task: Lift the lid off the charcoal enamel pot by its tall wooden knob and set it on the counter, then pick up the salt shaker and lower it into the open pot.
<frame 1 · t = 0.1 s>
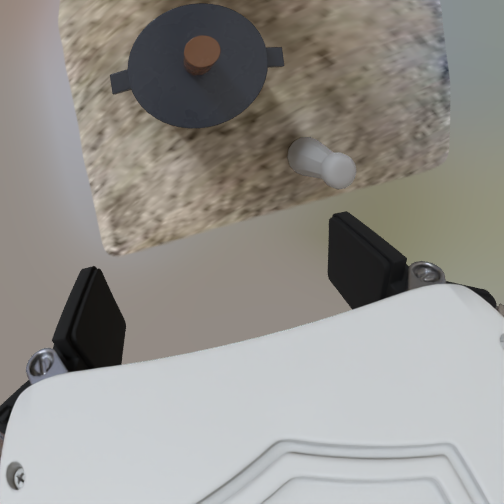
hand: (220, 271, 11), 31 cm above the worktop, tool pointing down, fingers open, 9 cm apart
lid: (198, 63, 24), point 9 cm above the worktop, touching pot
pot: (194, 73, 32), on the worktop
salt shaker: (300, 153, 41), on the worktop
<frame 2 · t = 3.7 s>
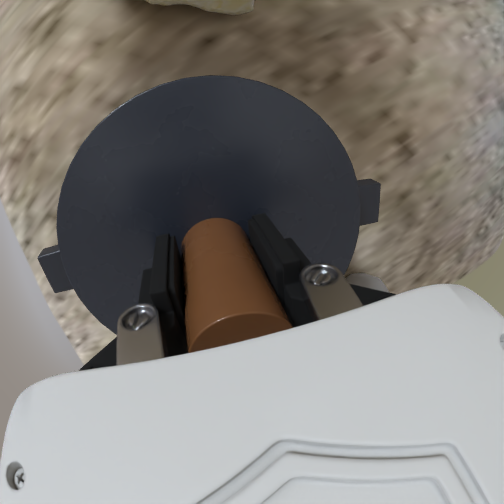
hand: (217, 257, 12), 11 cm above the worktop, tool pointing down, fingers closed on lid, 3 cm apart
lid: (213, 243, 13), point 10 cm above the worktop, touching gripper, pot
pot: (199, 186, 21), on the worktop
salt shaker: (351, 286, 30), on the worktop
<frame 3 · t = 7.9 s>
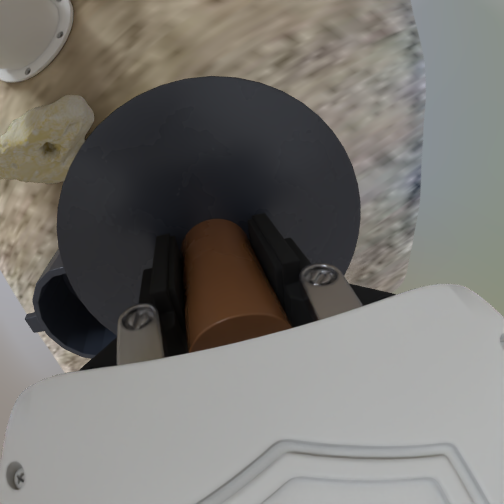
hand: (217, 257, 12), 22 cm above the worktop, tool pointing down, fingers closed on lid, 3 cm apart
lid: (213, 243, 13), point 21 cm above the worktop, touching gripper
pot: (101, 272, 34), on the worktop
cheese: (45, 149, 25), on the worktop
when the fingers open (2 cm above the worktop, at t = 12.4 s): lid stays where it is, point 1 cm above the worktop.
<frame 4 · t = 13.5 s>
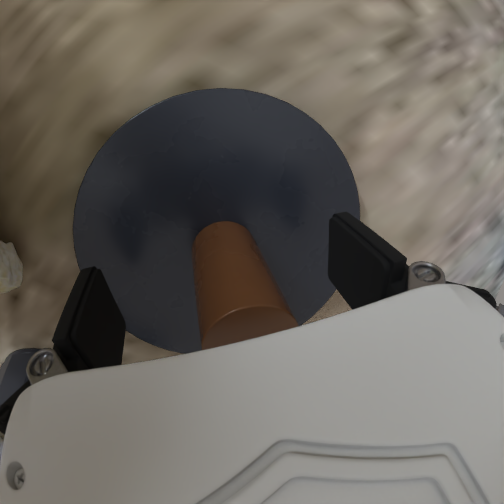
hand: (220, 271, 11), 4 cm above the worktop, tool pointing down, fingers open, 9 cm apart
lid: (221, 244, 14), point 1 cm above the worktop
pot: (69, 400, 18), on the worktop
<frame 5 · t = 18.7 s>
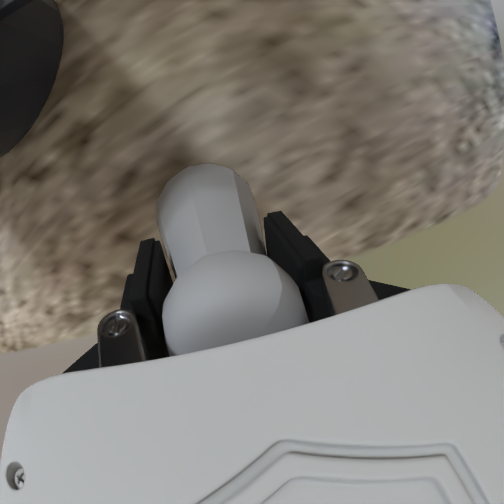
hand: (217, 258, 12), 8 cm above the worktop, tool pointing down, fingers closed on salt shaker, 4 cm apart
salt shaker: (202, 198, 18), on the worktop, touching gripper
when the fingers open (8 cm above the worktop, at t = 26.5 s): salt shaker stays where it is, resting on pot.
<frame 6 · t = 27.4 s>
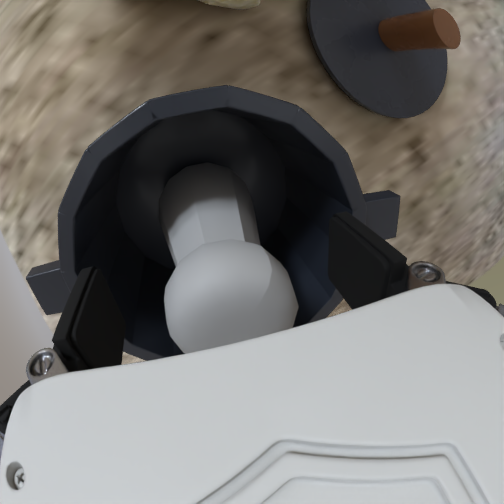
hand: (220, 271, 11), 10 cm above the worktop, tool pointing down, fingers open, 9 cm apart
lid: (387, 35, 15), point 1 cm above the worktop
pot: (201, 195, 20), on the worktop
salt shaker: (202, 196, 19), resting on pot
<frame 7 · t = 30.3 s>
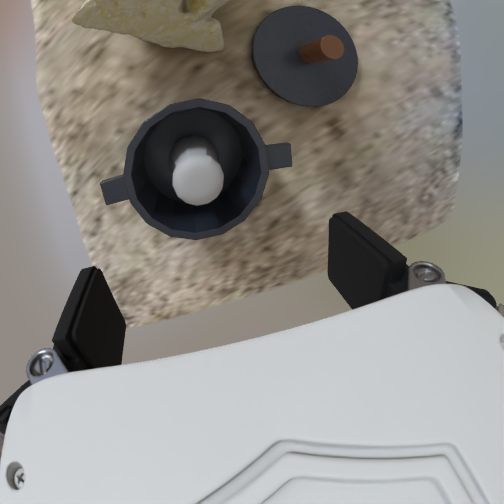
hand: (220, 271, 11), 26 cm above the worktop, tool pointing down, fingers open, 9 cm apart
lid: (307, 54, 29), point 1 cm above the worktop
pot: (192, 156, 33), on the worktop
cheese: (156, 26, 24), on the worktop
salt shaker: (192, 156, 33), resting on pot
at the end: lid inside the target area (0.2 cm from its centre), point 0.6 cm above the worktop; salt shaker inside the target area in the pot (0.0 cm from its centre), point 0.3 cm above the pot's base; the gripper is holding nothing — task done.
